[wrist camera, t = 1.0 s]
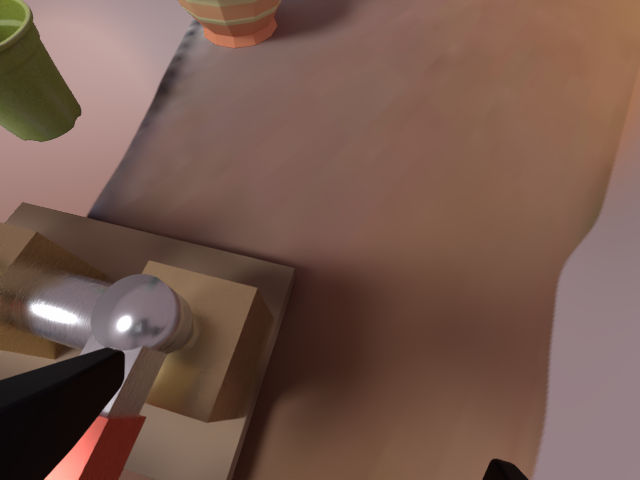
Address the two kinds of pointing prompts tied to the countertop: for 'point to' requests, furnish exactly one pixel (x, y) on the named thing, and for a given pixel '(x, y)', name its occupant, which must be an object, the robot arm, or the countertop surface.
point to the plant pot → (30, 80)
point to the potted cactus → (234, 20)
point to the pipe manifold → (178, 367)
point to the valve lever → (127, 369)
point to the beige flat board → (130, 259)
